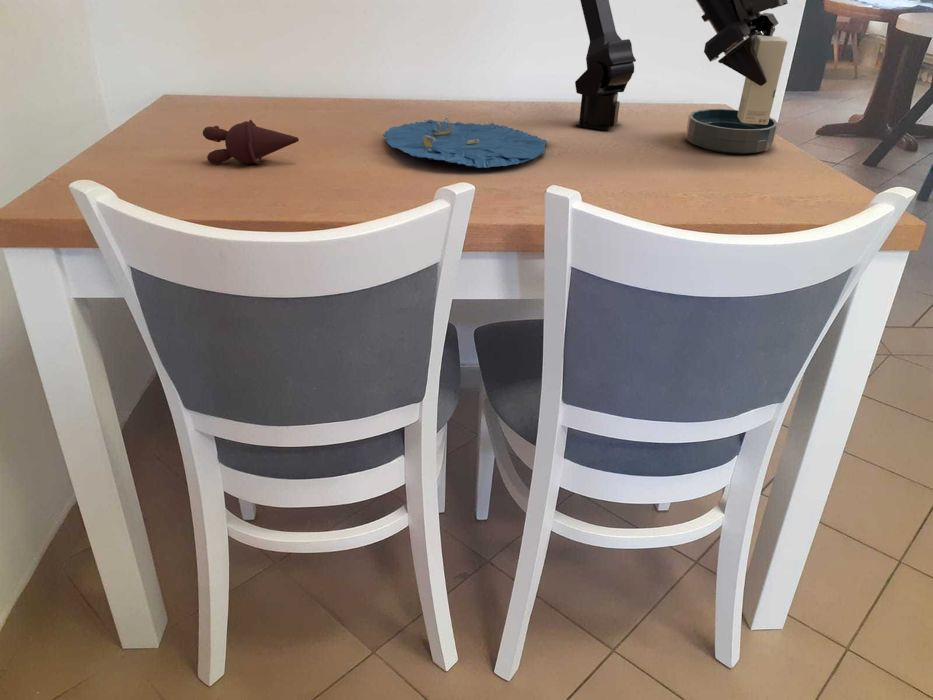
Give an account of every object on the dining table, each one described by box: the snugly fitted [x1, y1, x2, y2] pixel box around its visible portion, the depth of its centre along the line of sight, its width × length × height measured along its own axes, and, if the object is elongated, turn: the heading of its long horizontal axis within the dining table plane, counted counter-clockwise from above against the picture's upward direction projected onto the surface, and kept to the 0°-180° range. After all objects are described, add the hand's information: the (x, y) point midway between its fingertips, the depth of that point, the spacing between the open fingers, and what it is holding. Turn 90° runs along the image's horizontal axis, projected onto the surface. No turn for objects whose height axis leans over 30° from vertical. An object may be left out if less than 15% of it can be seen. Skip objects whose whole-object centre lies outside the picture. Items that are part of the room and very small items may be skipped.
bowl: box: [684, 108, 779, 155], centre depth 134 cm, size 15×15×4 cm
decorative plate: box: [382, 116, 548, 169], centre depth 128 cm, size 30×30×5 cm
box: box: [737, 35, 788, 125], centre depth 119 cm, size 5×4×13 cm
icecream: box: [202, 119, 300, 165], centre depth 117 cm, size 7×7×15 cm
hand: (770, 80), depth 118 cm, fingers closed on box, 6 cm apart
